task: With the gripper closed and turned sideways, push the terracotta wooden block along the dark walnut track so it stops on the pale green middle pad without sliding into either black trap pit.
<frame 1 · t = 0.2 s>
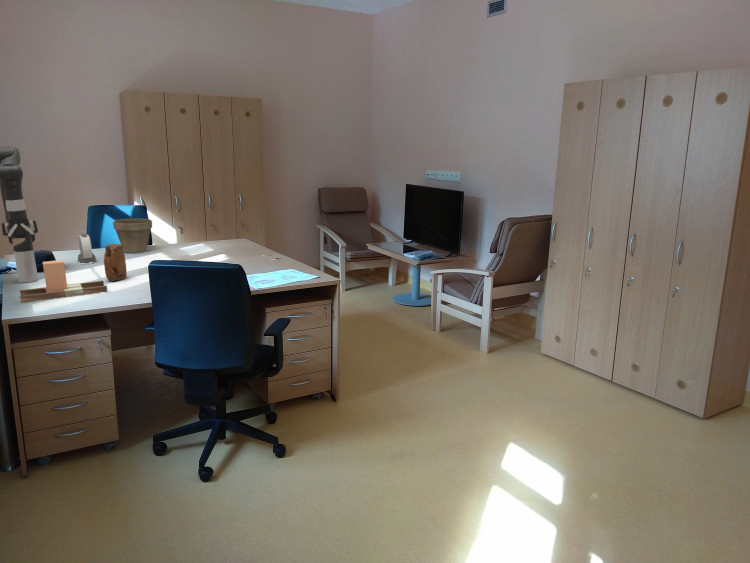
hand: (22, 242, 265), 29 cm above the table, tool pointing down, fingers open, 8 cm apart
alarm clock: (87, 262, 356), on the table
block: (116, 280, 312), on the table
plant pot: (135, 251, 389), on the table
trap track: (64, 293, 283), on the table
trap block: (57, 289, 281), point 3 cm above the table, touching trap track
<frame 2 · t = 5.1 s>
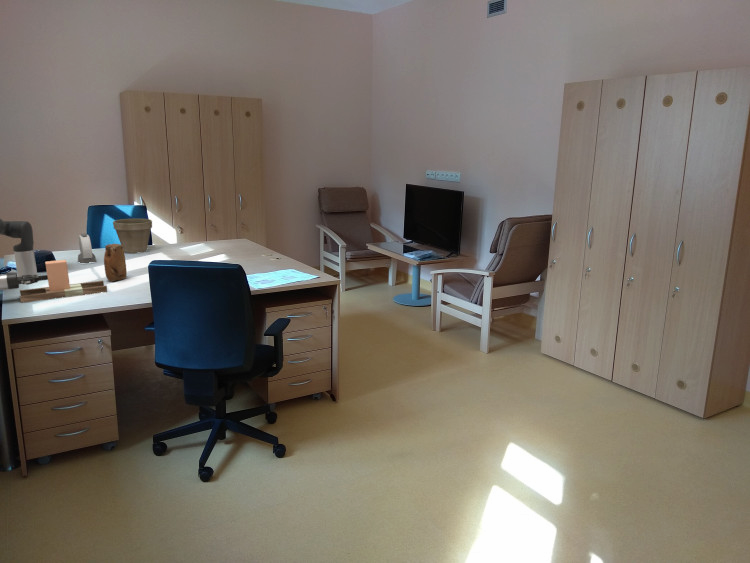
hand: (47, 277, 278), 10 cm above the table, tool horizontal, fingers closed
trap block: (59, 288, 282), point 3 cm above the table, touching gripper
everything else where it was.
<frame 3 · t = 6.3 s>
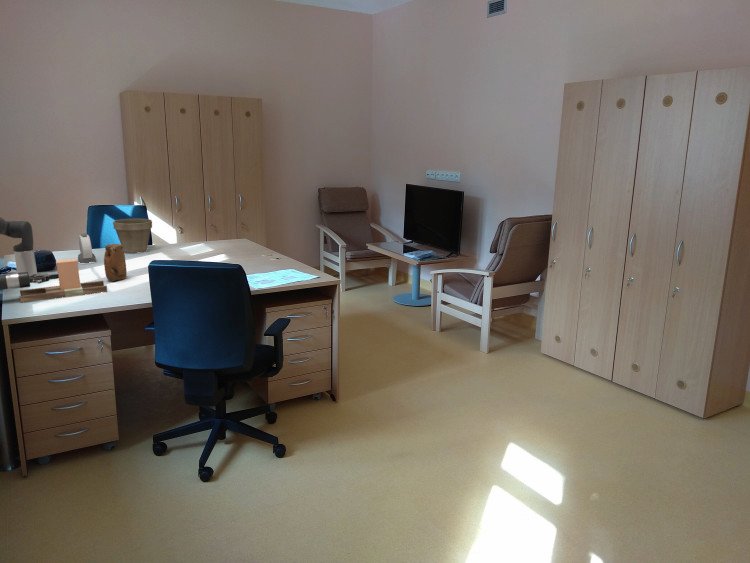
hand: (58, 276, 280), 10 cm above the table, tool horizontal, fingers closed
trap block: (70, 287, 284), point 3 cm above the table, touching gripper, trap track
everything else where it was.
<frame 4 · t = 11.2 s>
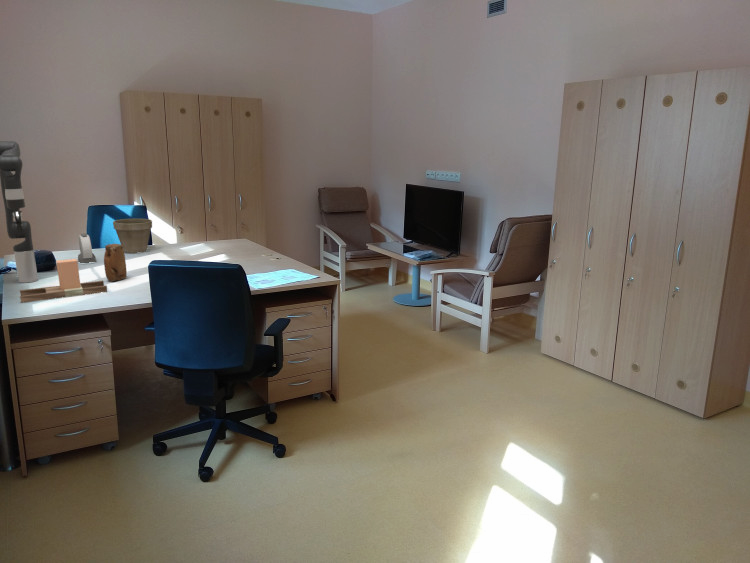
hand: (20, 232, 278), 31 cm above the table, tool pointing down, fingers closed
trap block: (70, 287, 284), point 3 cm above the table, touching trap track
everything else where it was.
at the end: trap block inside the target area on the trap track (1.0 cm from its centre), point 3.0 cm above the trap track's base; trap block tilted 0° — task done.
